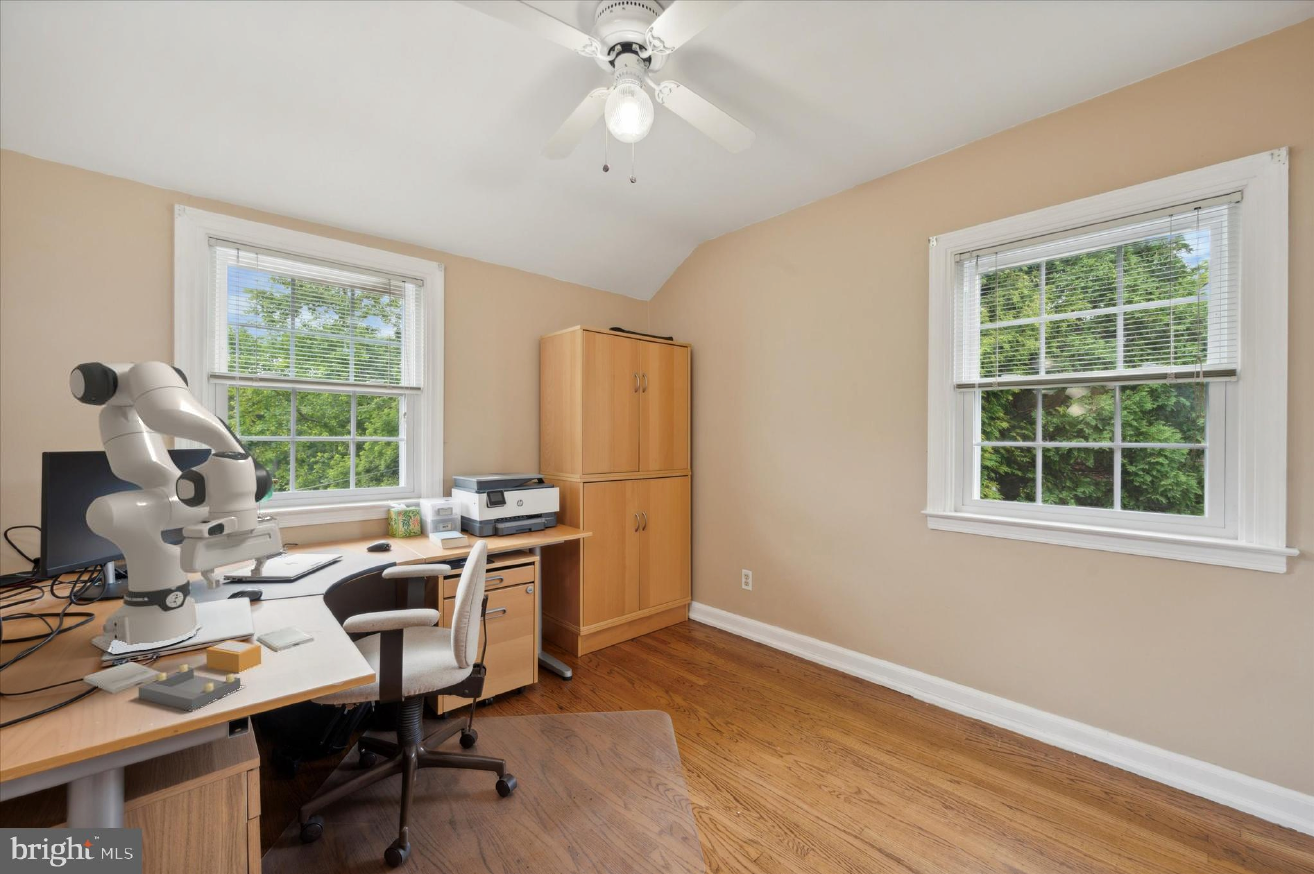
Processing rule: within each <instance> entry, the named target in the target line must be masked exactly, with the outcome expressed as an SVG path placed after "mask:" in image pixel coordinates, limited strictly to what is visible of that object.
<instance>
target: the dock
mask: <svg viewBox="0 0 1314 874" xmlns="http://www.w3.org/2000/svg"><path fill="white" fill-rule="evenodd" d="M194 672H195V671H194V668H193V667H189V665H188V663H184V664H183V663H182V664H181V665H179V666H178V671H177V672H173V673H171V674H169V675H167V672H164V671H163V672H161V673H159V674H157V678H156V679H154V680H153V681H151V682H150V681H149V682H148V683H145V684H143V685H140V686H138V699H139V700H142V701H147V702H151V703H155V704H159V705H163V704H164V705H163V706H169V707H172V708H175V709H179V708H181V709H180V710H183V709H186V710H185V711H187V710H191V711H190V712H192V711H193V710H195V709H197V708H199V709H201V708H202V707H201V706H204V705H206V704H208V703H209V702H212V701H213V700H215V699H219V698H220V697H223V696H224V695H227V694H228V693H231V692H233V691H235V690H237V689H239V688H240V686H245V685H244V684H241V678H240V677H235V673H227V674H226V675H225V680H220V679H216V678H215V679H214V678H210V677H206V676H201V675H197V674H195V673H194ZM241 688H242V687H241ZM227 696H228V695H227ZM223 698H224V697H223ZM219 700H220V699H219ZM212 703H213V702H212ZM208 705H209V704H208ZM206 706H207V705H206ZM200 707H201V708H200ZM204 707H205V706H204ZM197 710H198V709H197ZM195 711H196V710H195ZM193 712H194V711H193Z"/></svg>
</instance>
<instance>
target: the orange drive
mask: <svg viewBox="0 0 1314 874" xmlns="http://www.w3.org/2000/svg"><path fill="white" fill-rule="evenodd" d="M205 652H206V653H205V654H206V656H205V657H206V668H209V669H214V668H215V670H219V669H220V670H219V671H224V670H227V671H226V672H229V671H231V672H230V673H235V672H241V673H243V672H245V671H244V670H246V671H247V669H248V670H249V668H250V669H252V668H255V667H257V666H259V665H261V664H262V645H260V644H254V643H249V642H244V641H237V640H231V639H228V640H225V641H223V642H220V643H218V644H214V645H212V646H209V647H206V651H205ZM254 666H255V667H254ZM242 671H243V672H242Z"/></svg>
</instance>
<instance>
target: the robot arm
mask: <svg viewBox="0 0 1314 874" xmlns="http://www.w3.org/2000/svg"><path fill="white" fill-rule="evenodd" d="M69 388H70V391H71V394H72V395H73V397H74V398H75V399H76V400H77V401H78V402H80V403H82V404H84V405H85V404H86V405H90V406H91V405H92V406H99V407H102V406H104V407H103V408H102V409H101V410H99V413H98V426H99V427H98V428H99V435H100V438H101V442H102V445H103V446H102V447H103V449H104V451H105V454H106V457H107V460H108V462H109V466H110V470H111V473H113V475H114V476H116V477H117V478H118V479H120V480H123V481H126V482H129V483H132V484H135V485H137V486H139V487H140V488H141V489H135V490H133V489H132V490H124V491H120V492H115V493H114V492H113V493H110V494H106V495H103V496H99V497H97V498H95V499H94V500H93V501H91V503H90V504H89V506H88V508H87V510H86V514H85V520H86V524H87V526H88V528H89V529H90V530H91V531H92V532H93V533H94V534H95V535H97V536H99V537H102V538H104V539H107V540H109V541H110V542H111V543H112V544H114V545H116V546H117V548H118V549H119V550H120V552H121V553H122V555H123V556H124V559H125V562H126V569H127V580H128V581H127V582H128V588H126V589H124V590H122V592H125V593H122V595H123V602H122V603H123V604H122V605H121V606H119V608H117V609H116V610H115V611H114V612H113V613H112V614H110V615H108V617H107V618H105V619H106V620H105V622H104V623H103V625H102V631H103V634H100V635H98V636H96V637H94V638H92V639H91V644H92V645H94V646H96V647H97V648H99V649H101V650H103V651H105V652H106V650H108V649H109V647H110V645H111V642H112V641H113V640H118V641H122V642H125V643H127V645H133V644H139V643H154V642H159V641H165V640H170V639H172V638H178V637H179V636H183V635H185V634H187V633H188V632H191V631H192V630H193V629H195V627H196V625H197V623H198V619H197V618H198V617H197V610H196V609H197V608H196V604H195V603H196V601H195V599H194V598H192V597H190V595H191V589H192V587H191V583H190V580H189V579H188V578H189V577H188V574H197V573H198V574H199V573H200V576H201V577H202V578H203V579H204V580H205V581H206V586H207V587H206V588H207V589H208V590H215V589H219V588H220V587H221V583H220V582H221V581H220V579H215V576H213V574H214V575H215V569H219V568H223V567H226V566H230V565H236V564H239V563H244V562H247V561H248V562H249V561H252V560H254V561H255V562H256V563H255V565H254V567H253V569H250V576H251V577H252V578H259V577H261V576H263V569H264V566H265V565H266V563H267V560H268V556H272V555H276V554H280V552H281V551H282V549H283V544H282V543H283V541H282V535H281V532H280V525H279V524H280V522H279V520H278V519H277V518H276V517H274V516H270V515H268V516H265V517H259V516H258V504H257V503H259V502H260V501H262V500H263V499H265V497H266V496H267V495H268V494H269V492H270V491H271V488H272V486H273V478H272V475H271V473H270V472H269V470H268V469H267V467H266V466H264V465H263V464H262V463H260V462H259V460H257V459H256V458H255V457H254V456H253V455H252V453H251V452H250V451H249V450H248V449H247V448H246V446H245V445H244V443H243V442H242V441H241V440H240V438H239V437H238V436H237V435H236V433H235V432H234V431H233V430H232V428H230V426H229V425H228V424H227V423H226V422H225V421H224V420H223V418H221V417H219V416H217V415H216V414H213V413H212V412H211V411H209V410H208V409H206V408H205V407H204V406H202V404H200V402H199V401H198V400H197V399H196V398H195V397H194V396H193V394H192V392H191V391H190V389H189V381H188V378H187V375H186V374H185V373H184V371H183V370H182V369H180V368H178V367H175V366H172V365H169V364H167V363H165V362H161V361H158V360H157V361H156V360H147V361H143V362H133V361H131V362H102V363H101V362H99V361H96V362H93V361H92V362H85V363H80V364H78V365H76V367H73V368H72V370H71V372H70V377H69ZM162 435H163V436H166V437H172V438H177V439H184V440H188V441H193V442H197V443H199V444H203V445H205V446H208V447H210V448H211V449H212V450H213V451H214V453H212V454H210V455H209V456H208V458H207V460H206V461H205V462H203V463H201V464H200V465H197V466H194V467H191V468H187V469H186V470H183V472H182V471H181V470H180V469H179V468H178V467H177V465H175V463H174V462H173V460H172V458H171V456H170V454H169V452H168V449H167V447H166V445H165V441H164V438H163V436H162ZM181 528H182V536H184V537H185V538H184V539H183V540H182V542H181V546H178V545H174V544H171V543H166V542H164V541H163V538H162V533H161V532H162V531H168V530H175V529H181Z"/></svg>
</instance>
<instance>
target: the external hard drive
mask: <svg viewBox="0 0 1314 874" xmlns="http://www.w3.org/2000/svg"><path fill="white" fill-rule="evenodd" d="M159 673H162V672H161V671H158V670H157V669H152V668H150V667H147V666H145V665H142V664H139V663H137V662H134V661H129V662H125V663H122V664H119V665H116V666H112V667H109V668H106V669H103V670H101V671H97V672H95V673H90V674H88V675H85V676H84V677H83V682H85V683H86V684H89V685H92V686H94V687H97V686H98V687H97V688H98V689H99V688H100V689H101V690H104V691H106V692H109V693H111V694H115V693H118V692H121V691H124V690H127V689H130V688H132V687H134V686H137V685H140V684H143V683H147V682H150V681H152V680H153V681H154V680H157V674H159Z"/></svg>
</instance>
